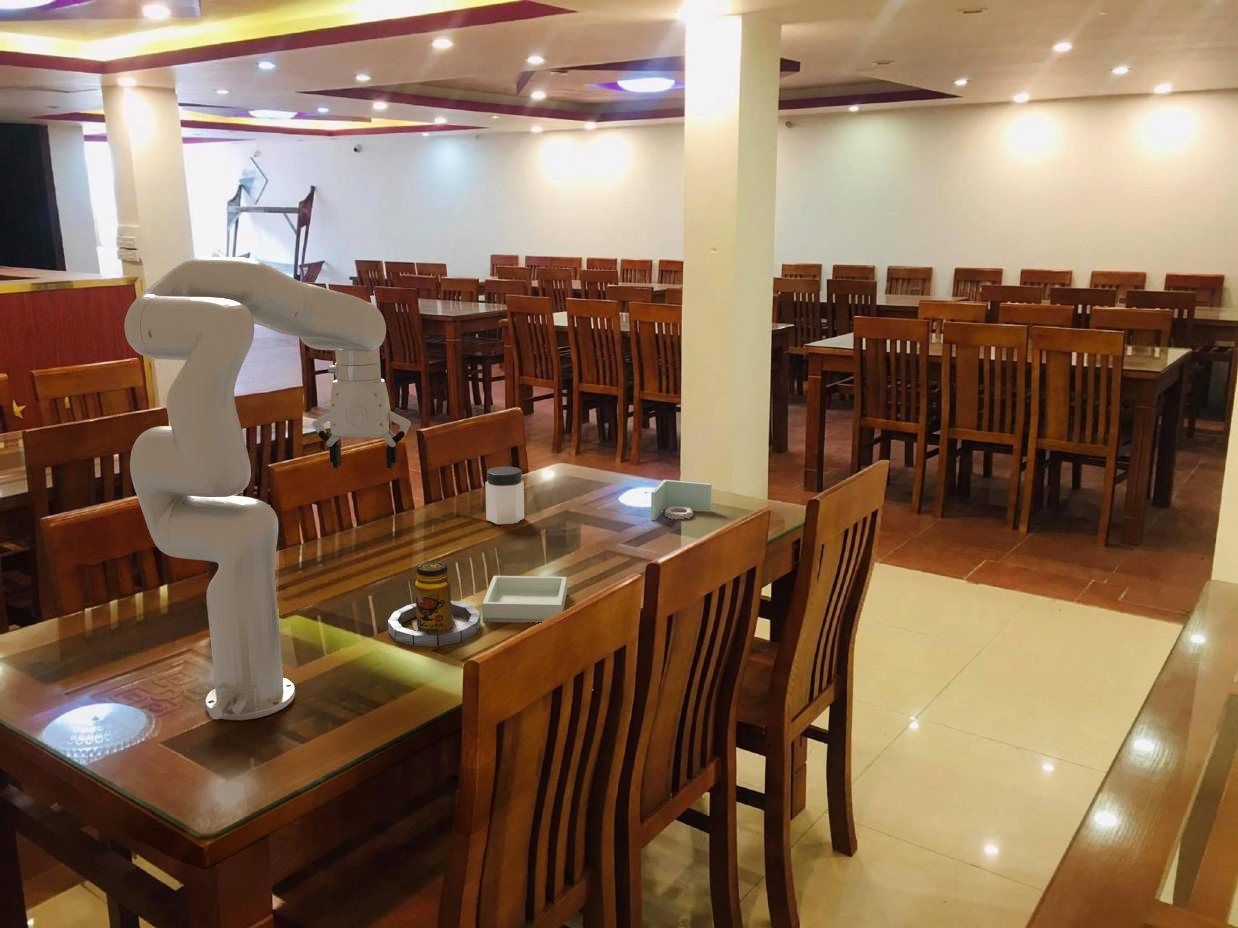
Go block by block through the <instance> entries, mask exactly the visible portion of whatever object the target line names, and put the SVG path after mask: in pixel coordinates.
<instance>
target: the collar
mask: <svg viewBox="0 0 1238 928" xmlns="http://www.w3.org/2000/svg"><path fill="white" fill-rule="evenodd" d="M451 609H452V616H457V617H461V618H464V619H466V620H467V622H465V623H463V624H461V625H459V626H456V627H457V628H455V629H449V630H444V631H439V632H417V631H414V629H410V628H406V627H403V626H402V624H404V623H406V622H408V621H410V620H413V618H417V616H416V614H417V613H416V602H415V603H411V604H407V605H405V606H403V607H401V608H399V609H397V610H394V611H393V613H392V614H391V616H390V617H389V618H388V620H387V627H388V634H389V635H390V636H391V637H392V639H393V640H394V639H395V640H394V641H395V642H398V641H399V642H398V643H401V642H402V644H405V645H408V644H409V645H408V646H411V645H412V646H411V647H434V648H436V647H437V648H438V647H443V646H447V645H453V644H457V643H462V642H464V641H466V640H468V639H469V638H471V637H473V636H475V635H477V634H478V632H479V630H480V626H481V612H480V611H479V610H477V609H476V607H474V606H473V605H471V604H469V603H468V604H467V603H464V602H460V601H457V600H451ZM413 645H414V646H413Z"/></svg>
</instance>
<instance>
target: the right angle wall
mask: <svg viewBox="0 0 1238 928" xmlns="http://www.w3.org/2000/svg"><path fill="white" fill-rule="evenodd" d="M712 487H713V486H712V483H706V482H705V483H704V482H696V481H695V482H694V481H685V480H684V481H683V480H673V479H663V480H662V481H661V482H660V483H659V484H658V485H657V486H656V487H655V488H654V489H653V490H652V491H651V495H650V496H651V499H650V502H651V503H650V521H651V520H655V521H656V520H657V519H658V518H659V516H661V514H662V513H663V512H664V515H665V516H664V517H666V518H667V517H668V518H667V519H670V518H671V520H673V519H676V520H677V519H683V520H685V519H684V518H688V517H691V516H692V517H693V515H694V511H693V510H698V511H697V512H701V511H710V510H712ZM665 508H666V509H665ZM664 509H665V510H664ZM663 510H664V511H663ZM662 511H663V512H662ZM688 519H689V518H688Z"/></svg>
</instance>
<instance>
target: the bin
mask: <svg viewBox="0 0 1238 928" xmlns="http://www.w3.org/2000/svg"><path fill="white" fill-rule="evenodd" d="M567 579H568V578H567V576H537V575H536V576H532V575H530V576H529V575H525V576H524V575H493V576H492V578H491V581H490V584H489V586H488V589H487V591H486V593H485V595H484V599H483V602H482V603H481V604H482V605H481V606H482V607H481V608H482V622H483V623H523V624H524V623H526V624H527V622H530V623H531V624H533V623H532V622H535V624H537V623H538V622H541V621H543V620H544V619H547V618H550V617H551V616H554V615H556V614H558V613H560V612H562V611H563V610H565V606H566V600H567V599H566V598H567V593H568V591H567V588H568V587H567V586H568V580H567ZM563 612H564V611H563ZM536 621H538V622H536ZM538 624H539V623H538Z"/></svg>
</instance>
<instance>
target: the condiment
mask: <svg viewBox="0 0 1238 928" xmlns="http://www.w3.org/2000/svg"><path fill="white" fill-rule="evenodd" d="M448 570H449V569H448V566H447V564H446V563H445V562H441V561H426V562H423V563H421V564H419V565H418V566H417V567H416V580H415V584H414V588H415V603H416V613H417V614H416V616H417V617H416V619H414V620H413V619H411V624H412V628H413V630H416V631H417V632H439V631H444V630H449V629H455V628H457V627H458V626H457V624H456V621H455V619H454V615H452V609H451V601H452V591H451V590H452V589H451V580H450V578H449V577H448V576H449V572H448Z"/></svg>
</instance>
